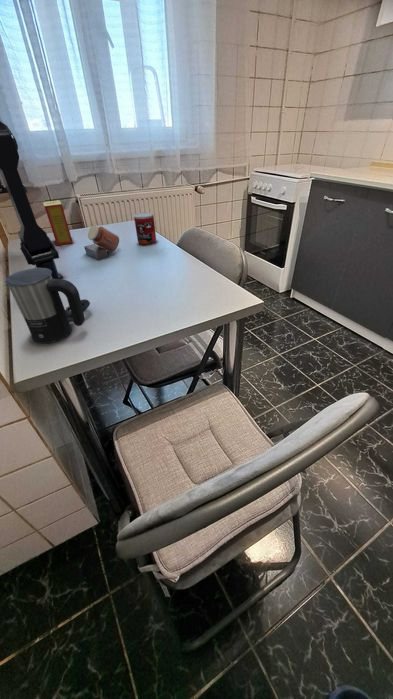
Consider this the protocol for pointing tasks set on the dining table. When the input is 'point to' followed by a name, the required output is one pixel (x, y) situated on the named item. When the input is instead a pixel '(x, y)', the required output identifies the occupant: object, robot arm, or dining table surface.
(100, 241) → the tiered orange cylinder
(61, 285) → the milk frother
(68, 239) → the baking soda box
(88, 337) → the dining table surface
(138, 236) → the canned food
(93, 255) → the walnut block
